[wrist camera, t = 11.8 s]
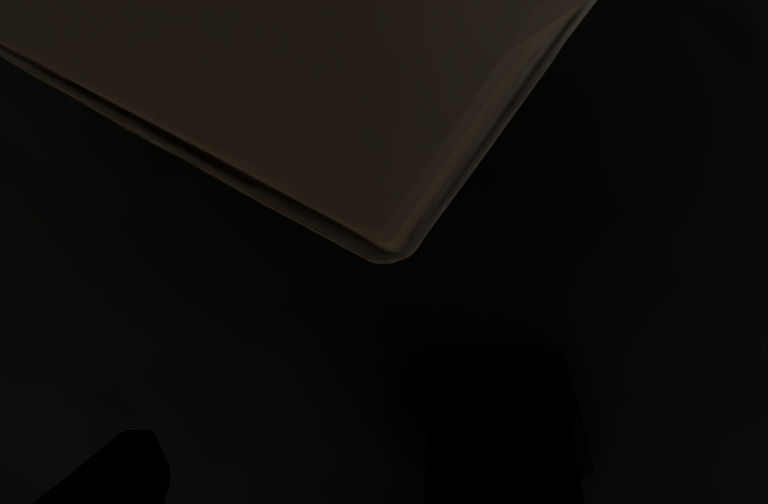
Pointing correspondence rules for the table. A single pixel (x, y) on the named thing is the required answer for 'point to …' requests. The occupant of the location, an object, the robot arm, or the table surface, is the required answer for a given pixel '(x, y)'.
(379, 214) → the skincare box
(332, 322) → the table surface
